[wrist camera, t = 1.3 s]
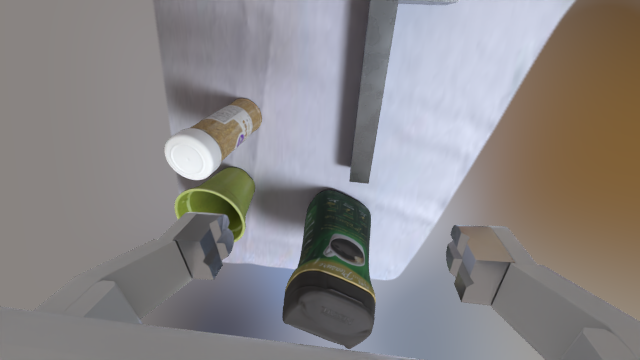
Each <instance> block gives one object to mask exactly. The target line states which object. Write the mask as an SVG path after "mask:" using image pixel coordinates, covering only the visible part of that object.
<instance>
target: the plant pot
mask: <svg viewBox="0 0 640 360" xmlns="http://www.w3.org/2000/svg"><path fill="white" fill-rule="evenodd" d="M254 192H255V184H254V181H253V180H252V179H251V178H250V177H249V176H248V174H247V173H246V172H245V171H243V170H241V169H238V168H233V167H229V168H226V169H223V170H222V171H220V172H219V173H217V174H216V175H215V176H213V177H212V178H210V179H209V180H208V181H206V182H205V183H203V184H202V185H200V186H198V187H195V188H191V189H188V190H185V191H184V192H182V193H181V194H180V195H179V196H178V197H177V199H176V201H175V213H176V216H177V218H178V219H179V218H180V217H181V216H183V215H184V214H185V213H187V212H200V213H201V212H203V213H217V214H225V215H227V216H228V219H229V222H230V223H229V225H228V228H229V229H230V230H231V231H232V233H233V236H234V242H236V241H238V240H239V239H240V238H241V237H242V236H243V234H244V231H245V227H246V224H245V218H246V217H245V216H246V213H247V210H248V208H249V205H250V202H251V200H252V197H253V194H254Z"/></svg>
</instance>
